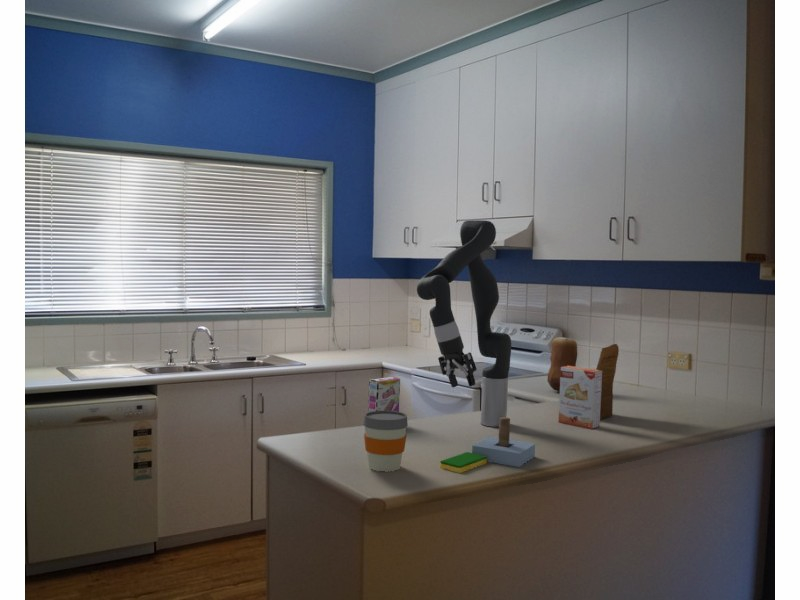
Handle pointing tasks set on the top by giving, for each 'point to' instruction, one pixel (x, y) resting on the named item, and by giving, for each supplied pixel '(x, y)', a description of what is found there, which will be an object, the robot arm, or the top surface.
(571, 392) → the cracker box
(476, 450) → the hole block
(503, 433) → the walnut peg
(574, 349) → the butternut squash
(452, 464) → the dish sponge
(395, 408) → the candy bar box
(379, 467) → the reusable coffee cup
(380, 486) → the top surface
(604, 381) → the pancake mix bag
